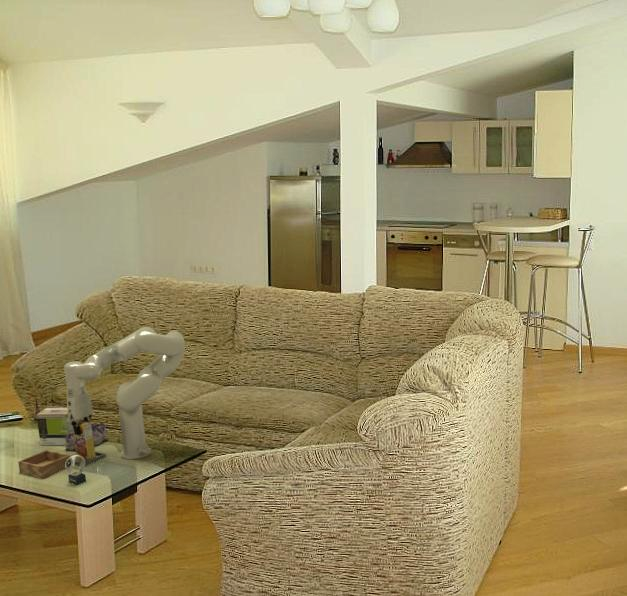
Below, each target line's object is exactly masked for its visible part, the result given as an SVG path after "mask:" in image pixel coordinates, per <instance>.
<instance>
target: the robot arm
mask: <svg viewBox="0 0 627 596" xmlns="http://www.w3.org/2000/svg"><path fill="white" fill-rule="evenodd" d="M142 352H145V353H150V354H154V355H159V356H158V357H157V358H156V359H154V360H153V361H152V362H151V363H149V364H148V365H147V366H146V367H145V366H144V367H143V369H141V370H140V371H139V373H138V375H137V378H136V379H135V380H133V381H126V382H123V383H122V384H121V385H120V386H119V388H118V389H117V392H116V399H115V402H116V405H117V407H118V408H119V409H118V410H119V420H120V429H121V439H122V449H123V450H121V452H120V454H119V455H120V458H121V459H124V460H138V459H143V458H146V457H147V456H149V455H150V454H151V452H152V451H153V448H152V447H149V446H148V443H147V442H146V435H145V434H146V433H145V424H144V413H143V403H145V402H146V401H148V400H149V399H150V398H151V397H153V395H155V394H156V393H157V392H158V390H159V389H160V386H161V383H162V381H163V380H164V379H166V378H167V377H169V375H170V374H171V373H173V372H174V371H175V370H176V369H177V368H178V367H179V366H180V364H181V363H182V361H183V358H184V356H185V352H186V343H185V338H184V336H183V334H182V333H181V332H179V331H178V330H171V331H169V332H167V334H161V333H160V334H159V333H157V332H156V330H155V329H154V328H152V327H151V326H144V327H141V328H139V329H137V330H136V331H134V332H132V333H131V334H129V335H127V336H126V337H124V338H122V339H120V340H118V341H117V342H115V343H113V344H111V345H109V346H106V347H105V348H104V347H103V349H101V350H99V351H97V352H95V353H94V354H93V355H90V356H89V357H88V358H87V359H86V360H85V362H84V363H82V362H81V361H76V360H75V361H74V360H73V361H70V362H67V363H65V364H64V366H63V367H64V368H63V370H64V376H65V383H66V391H67V392H66V393H65V395H66V399H67V400H66V408H67V411H68V418H67V421H66V422H67V423H70V424H71V425H72V426H74V433H75V435H81V431H80V426H79V420H80V419H81V420H85V421H88V422H91V418H92V416H93V414H94V412H95V410H94V409H93V405H92V400H91V397H90V394H89V392H88V391H87V388H86V380H89V381H90V380H97V379H98V378H99V377H100V376H101V374H102V372H103V370H104V369H106V368H107V367H109V366H110V365H111V366H112V364H115V363H117V362H120V361H121V362H124V361H128V360H130V359H132V358H133V357H135V356H136V355H138V354H140V353H142ZM71 419H72V420H71ZM75 420H76V423H75Z"/></svg>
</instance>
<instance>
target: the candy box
mask: <svg viewBox="0 0 627 596" xmlns="http://www.w3.org/2000/svg"><path fill="white" fill-rule="evenodd" d="M75 423H76V420H75ZM91 425H92V421H90V422H88V421H85V420H84V419H80V420H79V426H80V431H81V435H75V433H74V426H72V427H73V434H74V441H75V448H76V450H75V454H77V455H79V456H82V457H83V458H84V459H89V460H90V459H93V458H95V457H97V456H96V455H95V452H96V450H95V446H94V440H93V433H92V426H91Z"/></svg>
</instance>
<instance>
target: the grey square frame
mask: <svg viewBox="0 0 627 596" xmlns="http://www.w3.org/2000/svg"><path fill="white" fill-rule="evenodd" d="M106 454H107V453H103V452H99V451H95V455H96V456H95V457H93V458H90V459H89V460H87V461H85V466H86V467H88V466H90V465H92V464H94V463H93V462H95V463H97V462H99V461H101V460H103V459H105V458H107V455H106ZM73 455H77V454H76V453H74V454H72V455H71V454H70V457H71V456H73ZM104 457H105V458H104ZM100 459H101V460H100ZM98 460H99V461H98ZM96 461H97V462H96ZM91 463H92V464H91ZM80 464H81V461H76V460H75V465H77V466H76V467H80ZM89 464H90V465H89ZM87 465H88V466H87Z"/></svg>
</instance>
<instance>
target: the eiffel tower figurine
mask: <svg viewBox="0 0 627 596" xmlns="http://www.w3.org/2000/svg"><path fill="white" fill-rule="evenodd" d="M34 394H35V393H34ZM36 395H37V394H35V396H34V397H35V413H34V416H33V419H32V421H31V422H32V423H34V422H37V414H38V413H40V412H41V410H40V408H39V404H38V400H37V396H36ZM27 419H28V417H27V418H23V419H22V420H23V421H25V420H27Z"/></svg>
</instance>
